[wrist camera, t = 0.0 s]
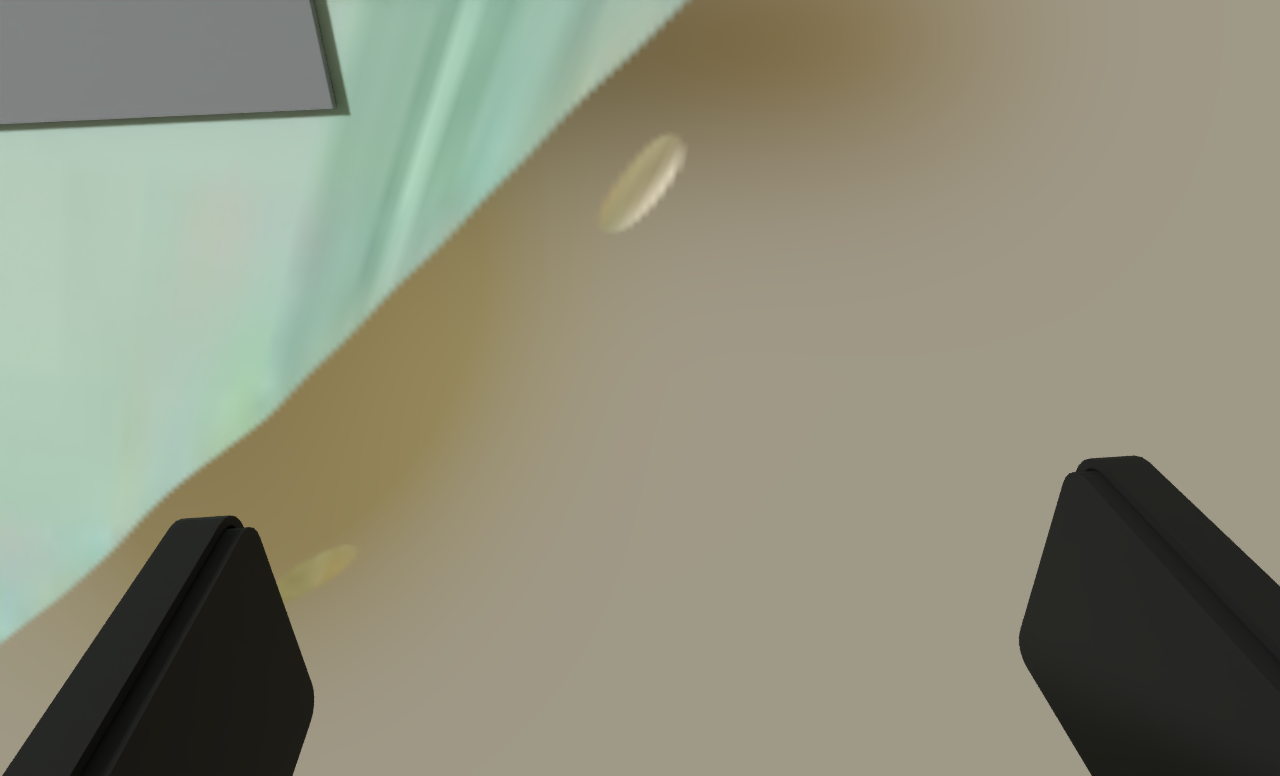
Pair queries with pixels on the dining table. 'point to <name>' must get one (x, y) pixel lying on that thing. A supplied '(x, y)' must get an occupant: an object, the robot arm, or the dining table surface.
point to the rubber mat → (159, 59)
